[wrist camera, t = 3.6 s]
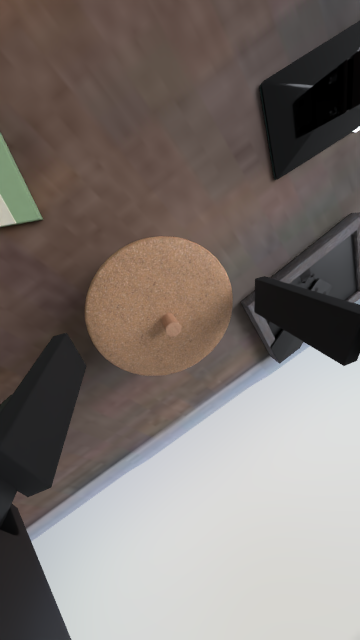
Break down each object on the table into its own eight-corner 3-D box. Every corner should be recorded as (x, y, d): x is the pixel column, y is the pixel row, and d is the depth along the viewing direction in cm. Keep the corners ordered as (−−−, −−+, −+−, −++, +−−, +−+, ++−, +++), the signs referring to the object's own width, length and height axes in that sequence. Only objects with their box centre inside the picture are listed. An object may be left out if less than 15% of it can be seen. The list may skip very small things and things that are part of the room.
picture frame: (270, 356, 30) (356, 289, 29) (279, 363, 28) (371, 293, 27) (240, 301, 23) (351, 213, 22) (250, 307, 22) (370, 211, 21)
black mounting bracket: (379, 9, 15) (475, -74, 11) (370, 122, 19) (440, 90, 15) (258, 85, 14) (311, 27, 10) (274, 183, 18) (318, 169, 14)
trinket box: (140, 347, 22) (150, 413, 14) (73, 275, 16) (25, 314, 8) (211, 300, 22) (262, 338, 14) (167, 212, 16) (211, 191, 8)
